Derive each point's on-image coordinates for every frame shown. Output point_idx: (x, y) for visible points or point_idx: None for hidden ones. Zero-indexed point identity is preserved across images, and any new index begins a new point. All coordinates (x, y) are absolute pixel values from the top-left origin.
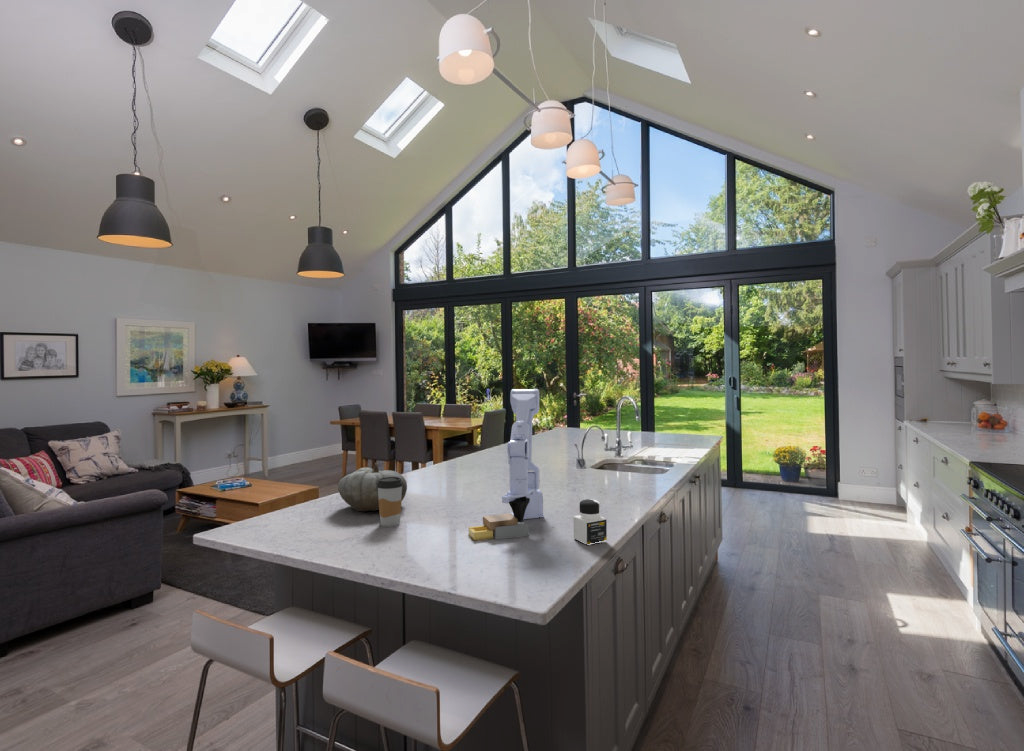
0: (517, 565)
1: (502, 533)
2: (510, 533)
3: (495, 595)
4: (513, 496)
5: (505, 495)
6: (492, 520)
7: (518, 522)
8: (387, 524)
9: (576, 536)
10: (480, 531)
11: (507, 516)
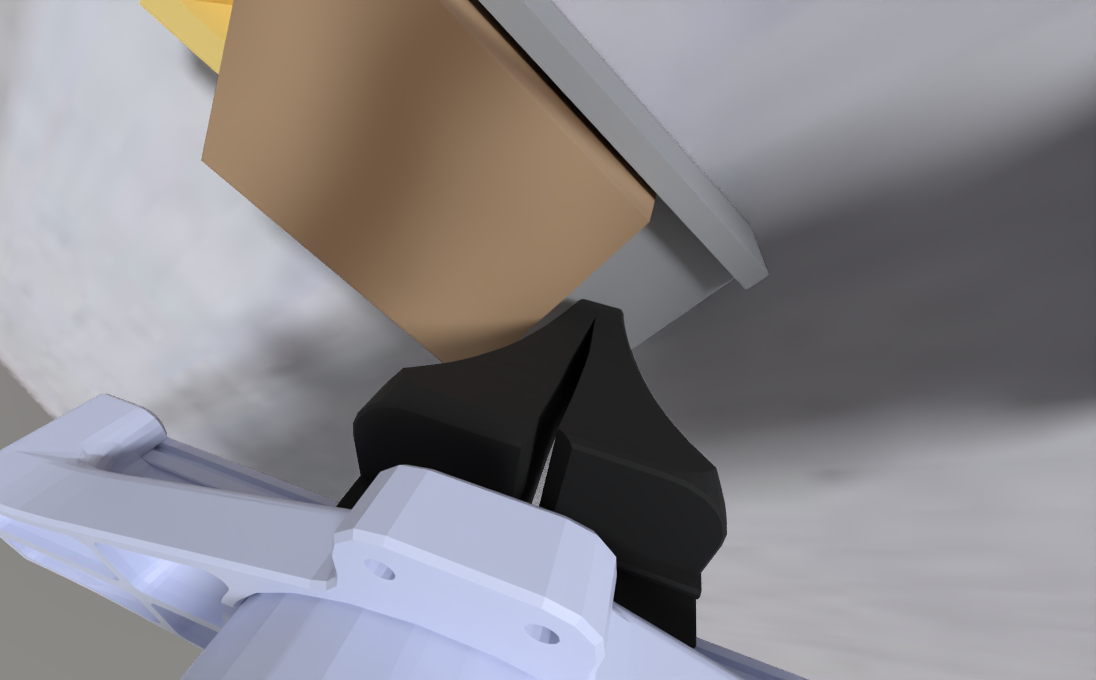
0: (217, 414)
1: None
2: None
3: (64, 409)
4: (185, 618)
5: (58, 521)
6: (258, 155)
7: (639, 301)
8: None
9: None
10: (209, 51)
11: (491, 255)
